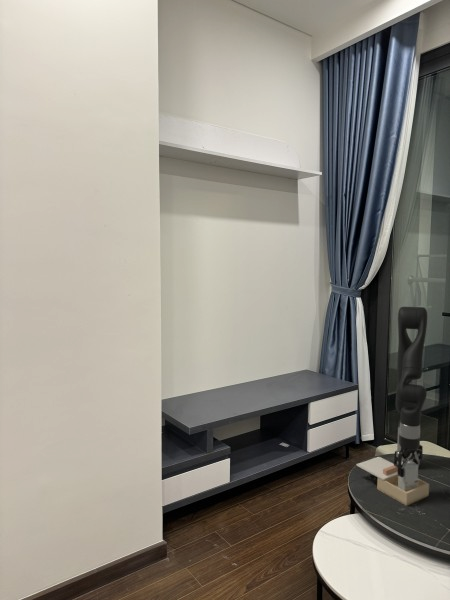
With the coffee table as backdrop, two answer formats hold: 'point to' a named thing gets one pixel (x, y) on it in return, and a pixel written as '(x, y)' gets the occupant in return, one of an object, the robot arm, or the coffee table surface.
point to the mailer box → (400, 495)
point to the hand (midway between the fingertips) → (407, 473)
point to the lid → (379, 468)
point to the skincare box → (409, 477)
